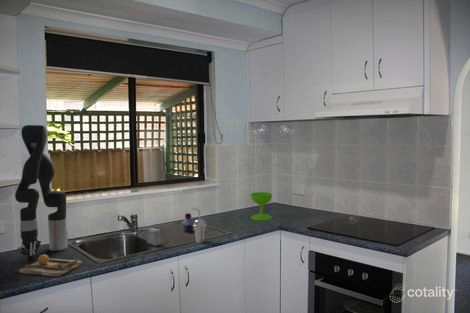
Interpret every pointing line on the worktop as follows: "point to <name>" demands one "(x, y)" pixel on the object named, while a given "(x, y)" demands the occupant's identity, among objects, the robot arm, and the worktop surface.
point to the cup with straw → (199, 228)
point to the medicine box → (153, 236)
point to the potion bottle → (188, 223)
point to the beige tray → (51, 267)
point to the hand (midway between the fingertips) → (30, 262)
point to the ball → (43, 259)
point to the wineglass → (261, 204)
